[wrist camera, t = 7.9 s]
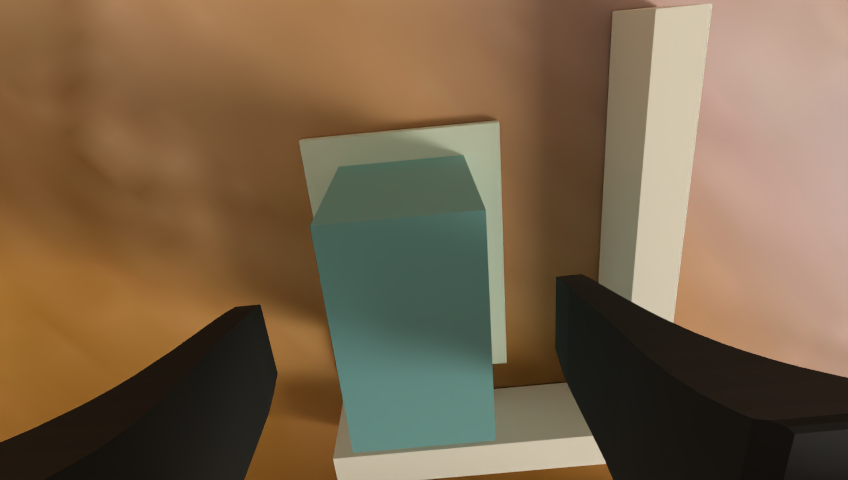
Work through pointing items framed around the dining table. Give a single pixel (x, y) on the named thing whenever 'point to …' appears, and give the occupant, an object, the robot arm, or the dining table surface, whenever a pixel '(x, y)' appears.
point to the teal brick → (408, 302)
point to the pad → (422, 143)
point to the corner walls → (619, 247)
